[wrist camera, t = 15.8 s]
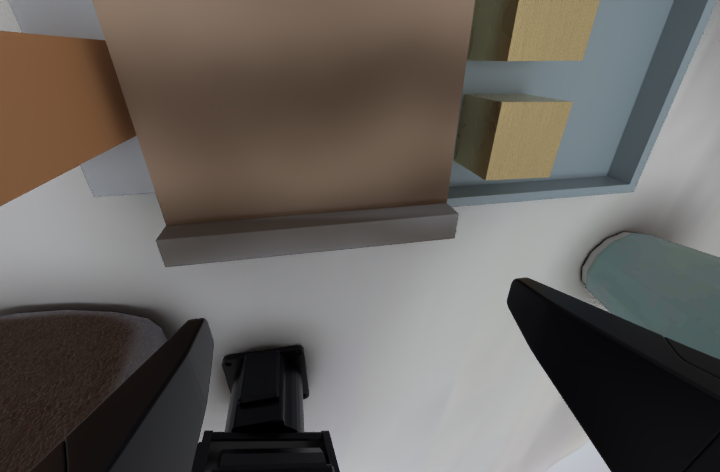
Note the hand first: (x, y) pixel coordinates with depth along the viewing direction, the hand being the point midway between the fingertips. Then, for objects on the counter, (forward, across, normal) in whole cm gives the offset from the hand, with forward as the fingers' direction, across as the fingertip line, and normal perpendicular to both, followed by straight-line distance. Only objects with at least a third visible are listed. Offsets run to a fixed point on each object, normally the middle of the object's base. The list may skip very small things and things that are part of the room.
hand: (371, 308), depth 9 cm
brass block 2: (+10, -8, -2) cm, 14 cm away
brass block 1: (+10, -8, -8) cm, 16 cm away
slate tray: (+13, -13, -5) cm, 19 cm away
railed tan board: (+13, +1, -5) cm, 14 cm away
